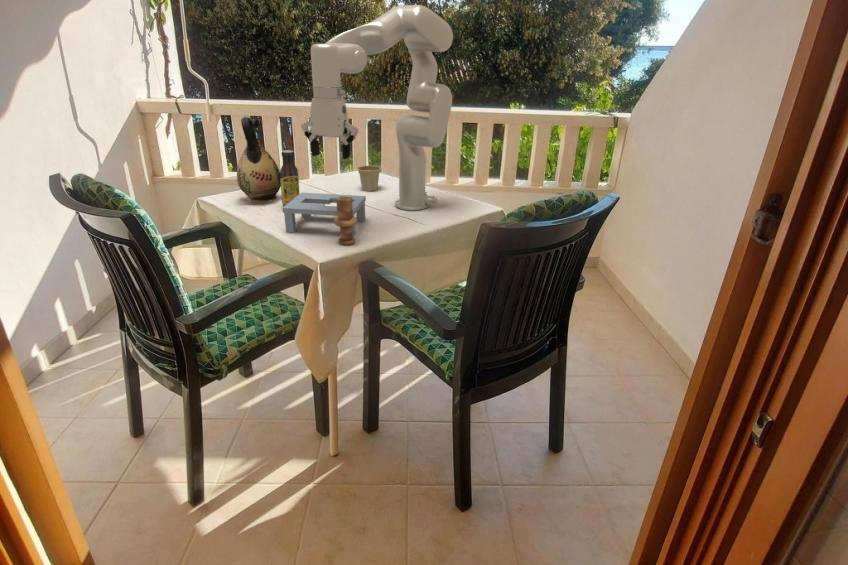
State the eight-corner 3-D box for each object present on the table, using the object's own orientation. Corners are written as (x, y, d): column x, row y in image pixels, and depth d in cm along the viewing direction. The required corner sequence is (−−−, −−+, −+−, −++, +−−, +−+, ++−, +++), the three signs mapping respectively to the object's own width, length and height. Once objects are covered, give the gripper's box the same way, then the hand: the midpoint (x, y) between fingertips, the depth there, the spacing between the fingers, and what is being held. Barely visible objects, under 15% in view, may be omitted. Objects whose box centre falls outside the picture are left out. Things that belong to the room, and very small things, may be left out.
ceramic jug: (246, 193, 190) (234, 112, 177) (286, 193, 191) (278, 112, 178) (234, 207, 175) (220, 119, 161) (278, 207, 176) (268, 120, 163)
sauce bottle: (284, 211, 172) (278, 153, 163) (280, 206, 177) (274, 150, 168) (303, 208, 175) (298, 152, 166) (298, 203, 180) (293, 148, 171)
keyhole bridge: (303, 215, 169) (301, 192, 165) (366, 219, 166) (365, 196, 163) (285, 232, 154) (282, 207, 150) (353, 237, 151) (352, 212, 148)
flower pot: (358, 186, 202) (357, 165, 198) (381, 186, 203) (380, 165, 200) (357, 192, 194) (357, 171, 190) (381, 192, 195) (381, 170, 191)
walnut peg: (359, 239, 150) (357, 196, 144) (354, 247, 144) (352, 202, 138) (339, 237, 151) (336, 194, 145) (333, 245, 145) (330, 201, 139)
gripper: (362, 94, 136) (363, 157, 143) (306, 91, 140) (310, 151, 148) (350, 96, 129) (352, 162, 137) (292, 93, 134) (297, 156, 141)
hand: (330, 156), depth 142 cm, fingers open, 9 cm apart
